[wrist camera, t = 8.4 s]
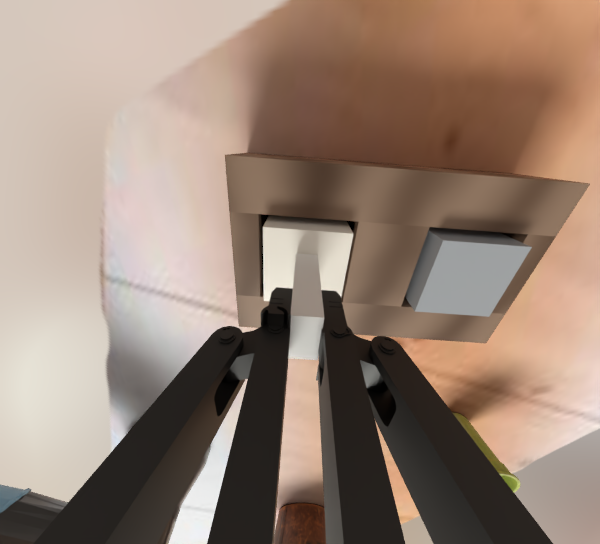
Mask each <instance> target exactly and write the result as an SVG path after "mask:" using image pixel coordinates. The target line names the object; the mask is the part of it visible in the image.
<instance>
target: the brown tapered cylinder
mask: <svg viewBox="0 0 600 544" xmlns="http://www.w3.org/2000/svg"><path fill="white" fill-rule="evenodd" d="M273 544H326V529H325V509H324V508H323V507H321V506H318V505H315V504H308V503H296V504H290V505H285V506H283V507H282V508H281V509H280V511H279V515H278V520H277V525H276V530H275V534H274V543H273Z"/></svg>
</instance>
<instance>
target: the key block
mask: <svg viewBox="0 0 600 544" xmlns="http://www.w3.org/2000/svg"><path fill="white" fill-rule="evenodd" d="M225 162H226V174H227V187H228V199H229V211H230V223H231V235H232V247H233V260H234V272H235V284H236V296H237V308H238V321H239V326H240V327H255V328H260V327H261V311H262V310H263V309H264V308H265V307H267V306H268V305H269V301H264V288H263V283H262V246H261V214H264V215H277V216H291V217H304V218H317V219H331V220H344V221H355V226H354V231H353V239H352V244H351V250H350V255H349V260H348V265H347V270H346V275H345V281H344V286H343V291H342V296H341V300H342V305H343V309H344V313H345V318H346V322H347V326H348V327H349V328H350V329H351V330H352V332H353V334H357V335H372V336H387V337H401V338H416V339H431V340H445V341H460V342H474V343H487V341H488V340H489V338H490V336H491V335H492V333H493V332H494V330H495V329H496V327H497V326H498V324H499V323H500V321H501V320H502V318H503V317H504V315H505V313H506V312H507V310H508V309H509V307H510V306H511V304H512V303H513V301H514V300H515V298H516V297H517V295H518V294H519V292H520V291H521V289H522V287H523V286H524V284H525V283H526V281H527V280H528V278H529V277H530V275H531V274H532V272H533V271H534V269H535V268H536V266H537V265H538V263H539V261H540V260H541V258H542V257H543V255H544V254H545V252H546V251H547V249H548V248H549V246H550V245H551V243H552V242H553V240H554V239H555V237H556V235H557V234H558V232H559V231H560V229H561V228H562V226H563V225H564V223H565V222H566V220H567V219H568V217H569V216H570V214H571V213H572V211H573V209H574V208H575V206H576V205H577V203H578V202H579V200H580V199H581V197H582V196H583V194H584V193H585V191H586V190H587V188H588V187H589V185H590V184H588V183H580V182H572V181H564V180H557V179H549V178H541V177H534V176H526V175H518V174H508V173H495V172H483V171H470V170H457V169H445V168H432V167H419V166H407V165H394V164H381V163H369V162H356V161H343V160H331V159H318V158H305V157H293V156H280V155H267V154H255V153H241V154H231V155H225ZM430 227H437V228H450V229H464V230H477V231H490V232H499V233H501V234H504V235H506V236H508V237H510V238H513V239H515V240H517V241H519V242H522V243H524V244H526V245H529V246H531V247H532V248H531V250H530V251H529V253H528V254H527V256H526V258H525V259H524V261H523V263H522V264H521V266H520V267H519V269H518V271H517V272H516V274H515V276H514V277H513V279H512V280H511V282H510V284H509V285H508V287H507V289H506V290H505V292H504V293H503V295H502V297H501V298H500V300H499V302H498V303H497V305H496V307H495V308H494V310H493V311H492V313H491V315H490V316H489V317H487V316H472V315H458V314H444V313H430V312H415V311H414V310H413V308H412V307H411V305H410V304H409V302H408V301H407V299H406V298H405V294H406V292H407V289H408V286H409V283H410V280H411V278H412V275H413V272H414V269H415V267H416V264H417V261H418V258H419V255H420V253H421V250H422V247H423V244H424V241H425V239H426V236H427V233H428V230H429V228H430Z"/></svg>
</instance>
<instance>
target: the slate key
mask: <svg viewBox="0 0 600 544" xmlns="http://www.w3.org/2000/svg"><path fill="white" fill-rule="evenodd" d="M531 248H532V247H531V246H529V245H526V244H524V243H522V242H519V241H517V240H515V239H513V238H510V237H508V236H506V235H504V234H501V233H499V232H490V231H477V230H464V229H450V228H437V227H430V228H429V230H428V233H427V236H426V239H425V241H424V244H423V247H422V250H421V253H420V255H419V258H418V261H417V264H416V267H415V269H414V272H413V275H412V278H411V280H410V283H409V286H408V289H407V292H406V294H405V298H406V299H407V301H408V302H409V304H410V305H411V307H412V308H413V310H414V311H415V312H430V313H444V314H458V315H472V316H487V317H489V316H490V315H491V313H492V311H493V310H494V308H495V307H496V305H497V303H498V302H499V300H500V298H501V297H502V295H503V293H504V292H505V290H506V289H507V287H508V285H509V284H510V282H511V280H512V279H513V277H514V276H515V274H516V272H517V271H518V269H519V267H520V266H521V264H522V263H523V261H524V259H525V258H526V256H527V254H528V253H529V251H530V250H531Z"/></svg>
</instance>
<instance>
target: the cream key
mask: <svg viewBox="0 0 600 544" xmlns="http://www.w3.org/2000/svg"><path fill="white" fill-rule="evenodd" d="M352 239H353V232H352V230H351V228H350V226H349V225H348V223H347V221H344V220H331V219H317V218H304V217H291V216H277V215H269V217H268V218H267V220H266V222H265V224H264V226H263V288H264V301H270V297H271V293H272V291H273V290H274V289H275V288H276V287H279V288H293V282H294V271H295V261H296V253H299V254H313V255H318V262H319V272H320V281H321V290H329V291H336V292H337V293H338V294H339V295H340V296H342V291H343V286H344V281H345V275H346V270H347V265H348V260H349V255H350V250H351V244H352Z"/></svg>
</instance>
